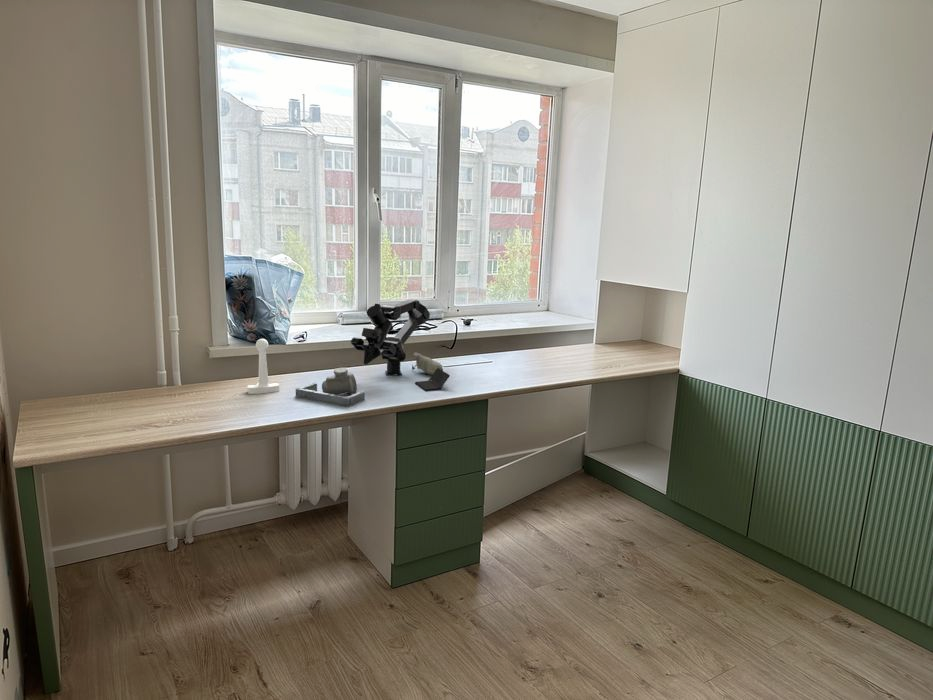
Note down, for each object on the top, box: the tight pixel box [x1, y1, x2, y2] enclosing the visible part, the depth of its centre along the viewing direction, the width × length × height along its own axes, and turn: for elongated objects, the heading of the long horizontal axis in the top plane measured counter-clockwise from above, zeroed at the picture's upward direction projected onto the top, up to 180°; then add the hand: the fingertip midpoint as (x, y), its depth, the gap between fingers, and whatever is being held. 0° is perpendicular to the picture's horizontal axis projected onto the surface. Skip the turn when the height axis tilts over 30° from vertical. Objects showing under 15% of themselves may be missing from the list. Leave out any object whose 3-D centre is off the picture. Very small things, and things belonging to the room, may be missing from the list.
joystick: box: [246, 338, 280, 395], centre depth 232 cm, size 11×8×20 cm
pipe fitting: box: [321, 367, 358, 395], centre depth 231 cm, size 12×8×10 cm
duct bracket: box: [295, 382, 366, 408], centre depth 227 cm, size 10×23×3 cm, turn 64°
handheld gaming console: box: [414, 368, 451, 392], centre depth 247 cm, size 13×8×11 cm
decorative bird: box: [411, 351, 444, 375], centre depth 266 cm, size 6×17×8 cm, turn 45°
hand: (364, 363), depth 245 cm, fingers closed
